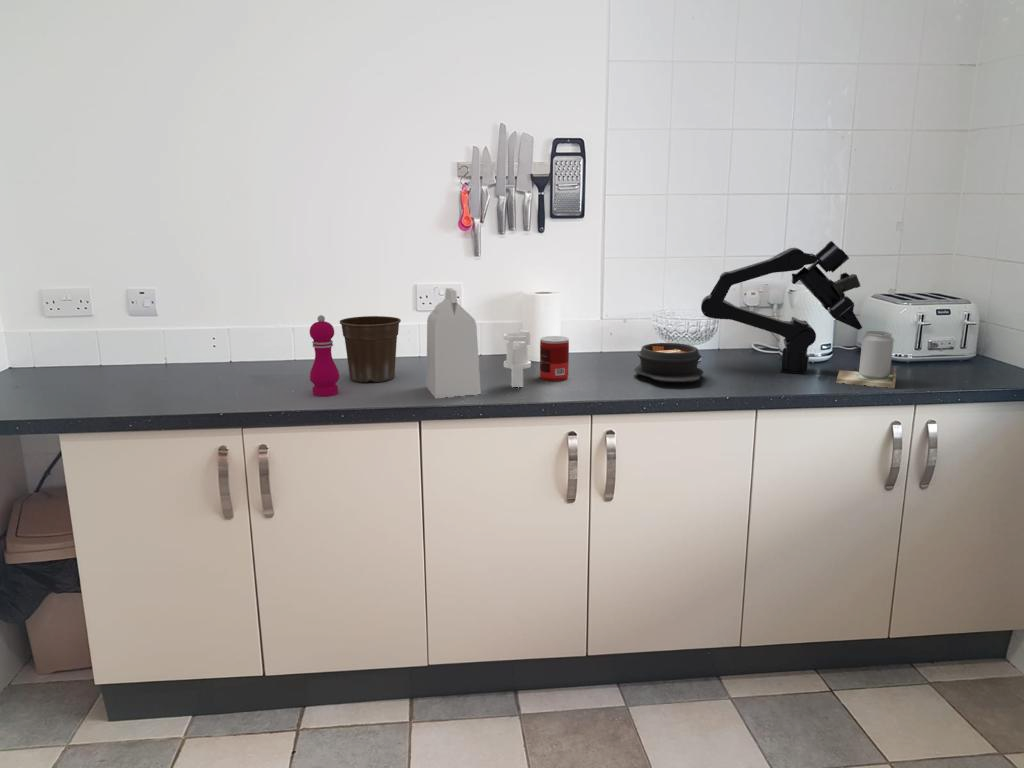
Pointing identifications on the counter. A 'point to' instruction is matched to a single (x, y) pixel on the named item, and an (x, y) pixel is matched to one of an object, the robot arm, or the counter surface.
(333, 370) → the pepper mill
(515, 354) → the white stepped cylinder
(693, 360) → the casserole
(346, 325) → the plant pot
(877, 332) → the can
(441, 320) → the milk
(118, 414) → the counter surface
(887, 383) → the rack board
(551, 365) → the canned food
